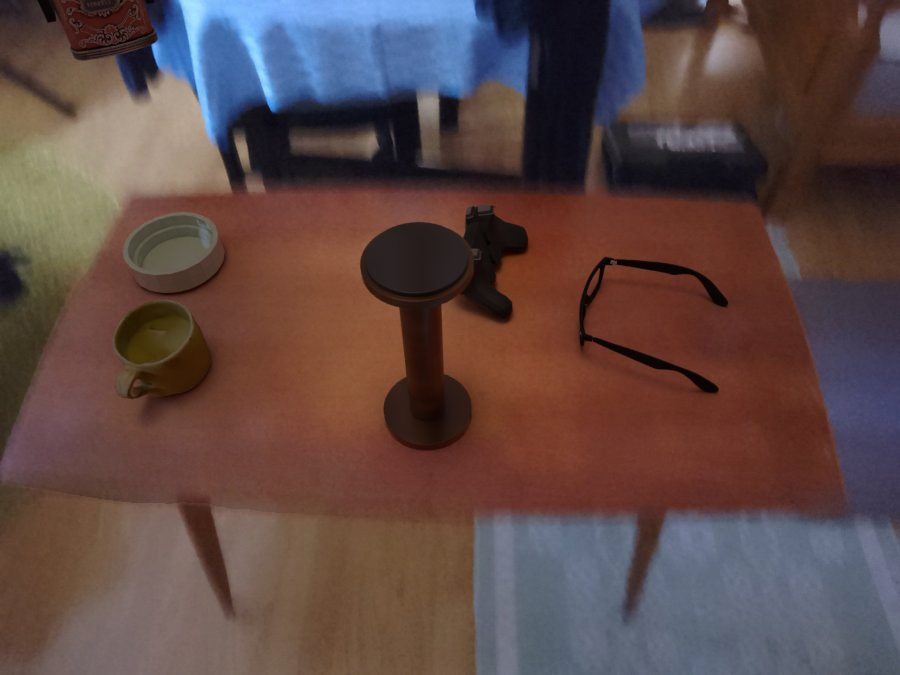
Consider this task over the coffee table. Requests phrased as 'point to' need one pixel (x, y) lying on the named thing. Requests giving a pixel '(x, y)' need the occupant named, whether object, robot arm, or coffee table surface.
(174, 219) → the bowl
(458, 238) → the stand
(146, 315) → the mug
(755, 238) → the coffee table surface
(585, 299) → the glasses
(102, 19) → the lighter
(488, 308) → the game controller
